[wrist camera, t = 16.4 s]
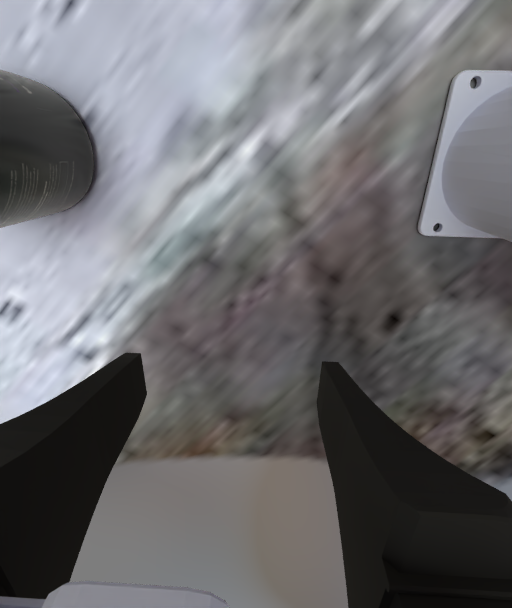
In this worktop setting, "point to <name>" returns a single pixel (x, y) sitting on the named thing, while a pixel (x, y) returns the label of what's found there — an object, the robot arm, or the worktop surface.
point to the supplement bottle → (39, 152)
